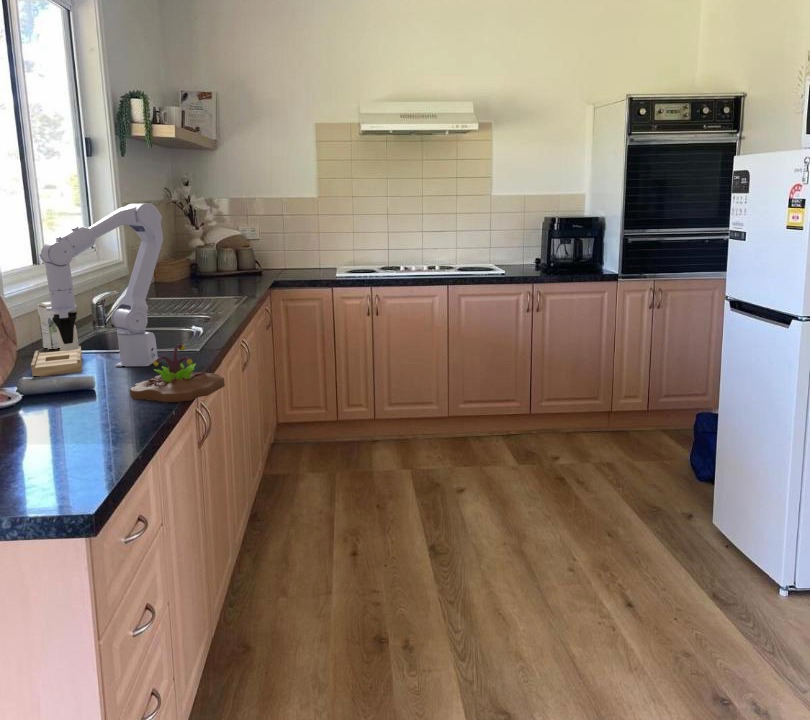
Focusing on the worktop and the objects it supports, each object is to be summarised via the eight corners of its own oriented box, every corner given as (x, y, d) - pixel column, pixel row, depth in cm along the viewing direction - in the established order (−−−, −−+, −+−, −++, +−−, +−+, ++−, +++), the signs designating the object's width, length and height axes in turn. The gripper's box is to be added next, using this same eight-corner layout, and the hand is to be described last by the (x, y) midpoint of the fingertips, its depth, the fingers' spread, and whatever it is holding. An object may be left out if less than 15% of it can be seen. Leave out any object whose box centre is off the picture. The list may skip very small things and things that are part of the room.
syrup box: (60, 345, 244) (54, 299, 240) (69, 347, 240) (63, 301, 237) (42, 348, 239) (36, 302, 236) (52, 350, 236) (45, 303, 232)
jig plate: (81, 371, 206) (80, 359, 205) (32, 377, 202) (30, 365, 201) (82, 357, 224) (80, 346, 224) (37, 362, 220) (35, 351, 219)
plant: (239, 384, 188) (235, 339, 186) (185, 406, 171) (180, 356, 168) (175, 378, 196) (170, 335, 194) (118, 398, 179) (112, 351, 177)
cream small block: (82, 346, 202) (79, 324, 201) (73, 350, 197) (70, 327, 196) (65, 347, 202) (62, 324, 201) (56, 351, 198) (52, 328, 196)
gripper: (45, 287, 201) (52, 338, 205) (42, 294, 188) (50, 348, 191) (74, 285, 204) (81, 335, 207) (73, 291, 191) (81, 345, 194)
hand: (68, 341), depth 199 cm, fingers closed on cream small block, 5 cm apart
